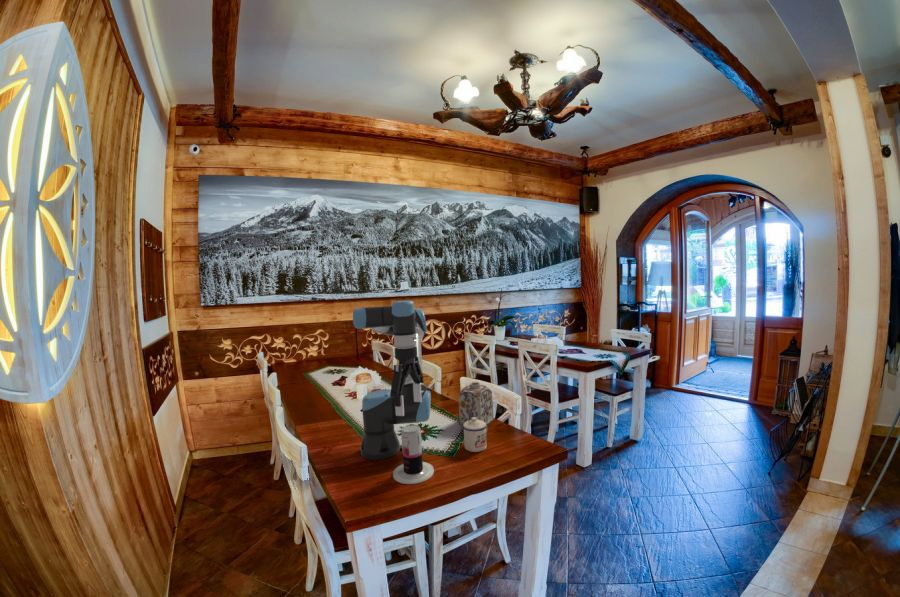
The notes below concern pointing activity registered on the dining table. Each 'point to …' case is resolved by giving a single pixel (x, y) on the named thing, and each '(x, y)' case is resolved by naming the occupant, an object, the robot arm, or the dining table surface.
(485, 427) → the teacup with lid
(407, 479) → the plate
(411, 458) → the beverage can
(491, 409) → the decorative jar
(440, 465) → the dining table surface
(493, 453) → the dining table surface
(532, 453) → the dining table surface
